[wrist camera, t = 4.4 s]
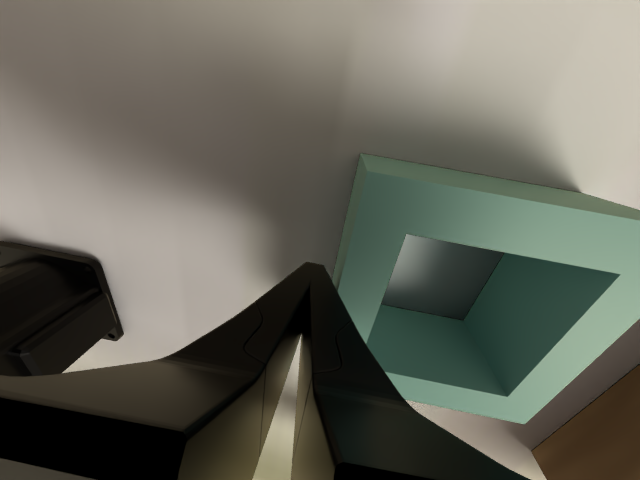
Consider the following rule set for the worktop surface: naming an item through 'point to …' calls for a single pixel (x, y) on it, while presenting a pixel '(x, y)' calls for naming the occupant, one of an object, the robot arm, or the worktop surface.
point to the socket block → (489, 284)
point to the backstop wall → (598, 438)
